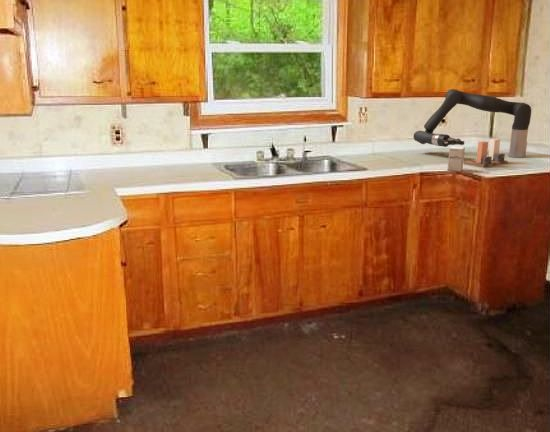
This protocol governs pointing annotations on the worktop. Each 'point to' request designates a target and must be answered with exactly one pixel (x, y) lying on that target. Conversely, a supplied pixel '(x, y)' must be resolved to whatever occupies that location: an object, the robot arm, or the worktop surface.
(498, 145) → the key white
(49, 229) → the worktop surface
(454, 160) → the supplement box
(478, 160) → the pink tall block
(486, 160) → the switch bench
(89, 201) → the worktop surface
